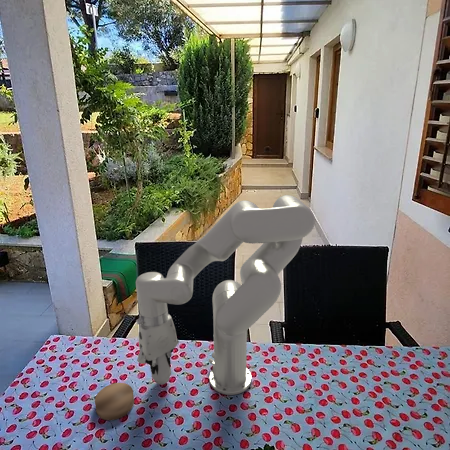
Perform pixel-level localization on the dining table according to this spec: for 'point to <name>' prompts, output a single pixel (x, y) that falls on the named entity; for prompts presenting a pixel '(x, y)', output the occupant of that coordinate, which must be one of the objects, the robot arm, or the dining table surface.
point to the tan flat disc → (114, 401)
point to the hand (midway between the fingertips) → (161, 370)
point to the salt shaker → (162, 370)
